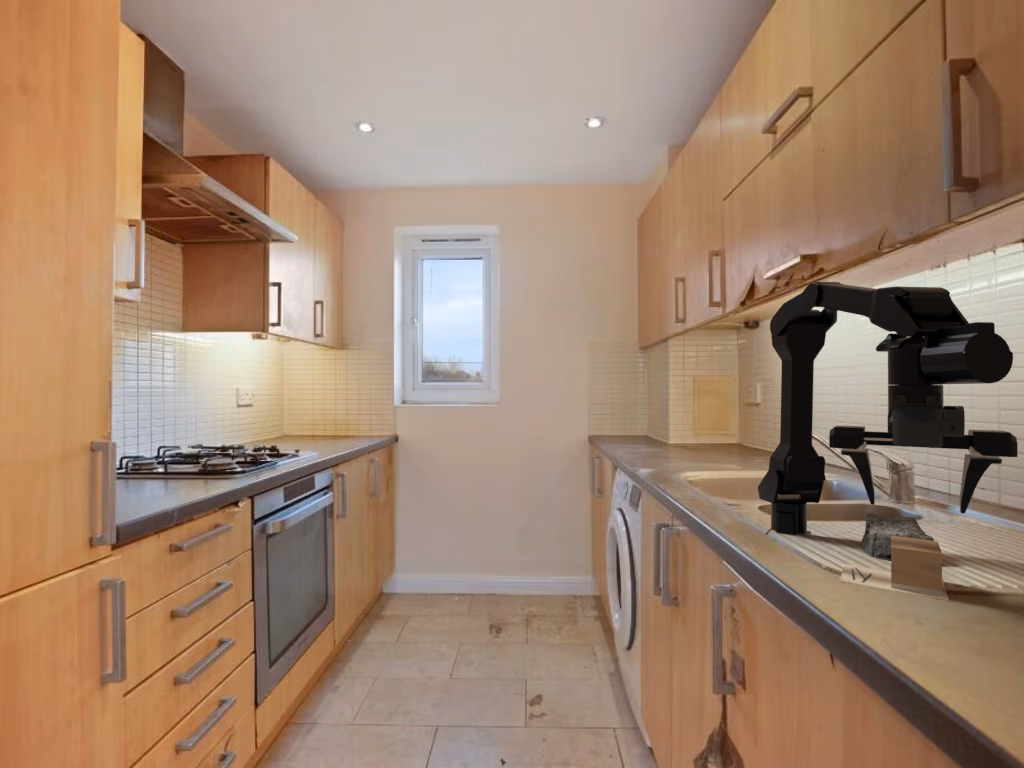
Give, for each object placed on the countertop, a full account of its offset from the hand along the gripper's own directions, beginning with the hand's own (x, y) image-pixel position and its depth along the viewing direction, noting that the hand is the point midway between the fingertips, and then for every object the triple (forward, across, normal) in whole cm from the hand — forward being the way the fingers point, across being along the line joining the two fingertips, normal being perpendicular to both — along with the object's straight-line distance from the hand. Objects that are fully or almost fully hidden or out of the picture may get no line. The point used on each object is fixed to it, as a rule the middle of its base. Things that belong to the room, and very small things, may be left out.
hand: (915, 508), depth 71 cm
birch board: (+11, -3, 0) cm, 11 cm away
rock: (+11, -2, +16) cm, 20 cm away
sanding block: (+10, 0, 0) cm, 10 cm away
